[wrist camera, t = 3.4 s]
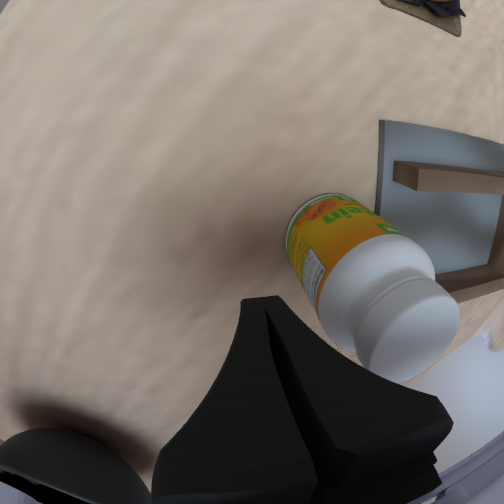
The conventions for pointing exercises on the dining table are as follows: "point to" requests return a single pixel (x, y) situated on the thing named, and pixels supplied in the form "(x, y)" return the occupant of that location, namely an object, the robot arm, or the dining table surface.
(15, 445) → the bowl of black rocks
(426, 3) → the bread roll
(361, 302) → the supplement bottle
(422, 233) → the cradle
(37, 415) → the dining table surface
